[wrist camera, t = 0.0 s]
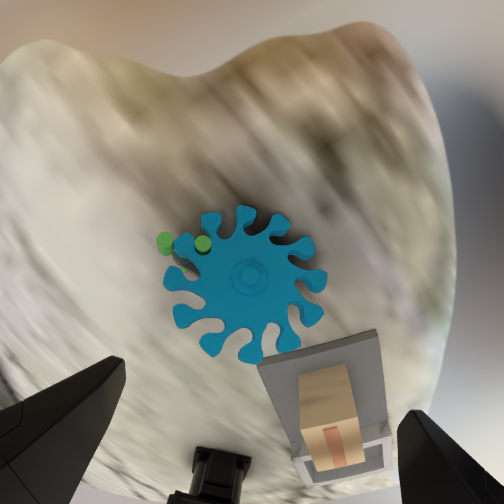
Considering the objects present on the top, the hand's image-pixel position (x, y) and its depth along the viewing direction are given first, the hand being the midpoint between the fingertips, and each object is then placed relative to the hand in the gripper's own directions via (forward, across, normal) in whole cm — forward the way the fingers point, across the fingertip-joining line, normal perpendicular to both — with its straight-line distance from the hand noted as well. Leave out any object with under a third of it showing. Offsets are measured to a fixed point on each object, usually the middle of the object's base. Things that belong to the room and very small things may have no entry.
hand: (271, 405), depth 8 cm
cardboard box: (+14, -8, +12) cm, 20 cm away
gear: (+15, +2, +1) cm, 15 cm away
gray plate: (+15, -10, +16) cm, 24 cm away
